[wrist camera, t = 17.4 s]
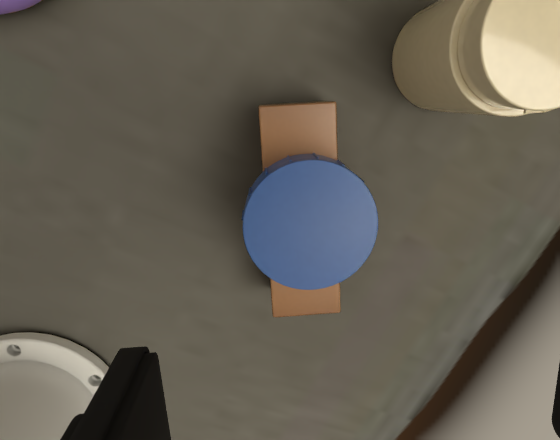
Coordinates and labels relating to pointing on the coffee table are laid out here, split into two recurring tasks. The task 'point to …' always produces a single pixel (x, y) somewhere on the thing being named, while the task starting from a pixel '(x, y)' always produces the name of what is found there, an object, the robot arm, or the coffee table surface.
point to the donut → (16, 5)
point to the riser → (292, 141)
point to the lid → (309, 222)
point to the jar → (481, 57)
